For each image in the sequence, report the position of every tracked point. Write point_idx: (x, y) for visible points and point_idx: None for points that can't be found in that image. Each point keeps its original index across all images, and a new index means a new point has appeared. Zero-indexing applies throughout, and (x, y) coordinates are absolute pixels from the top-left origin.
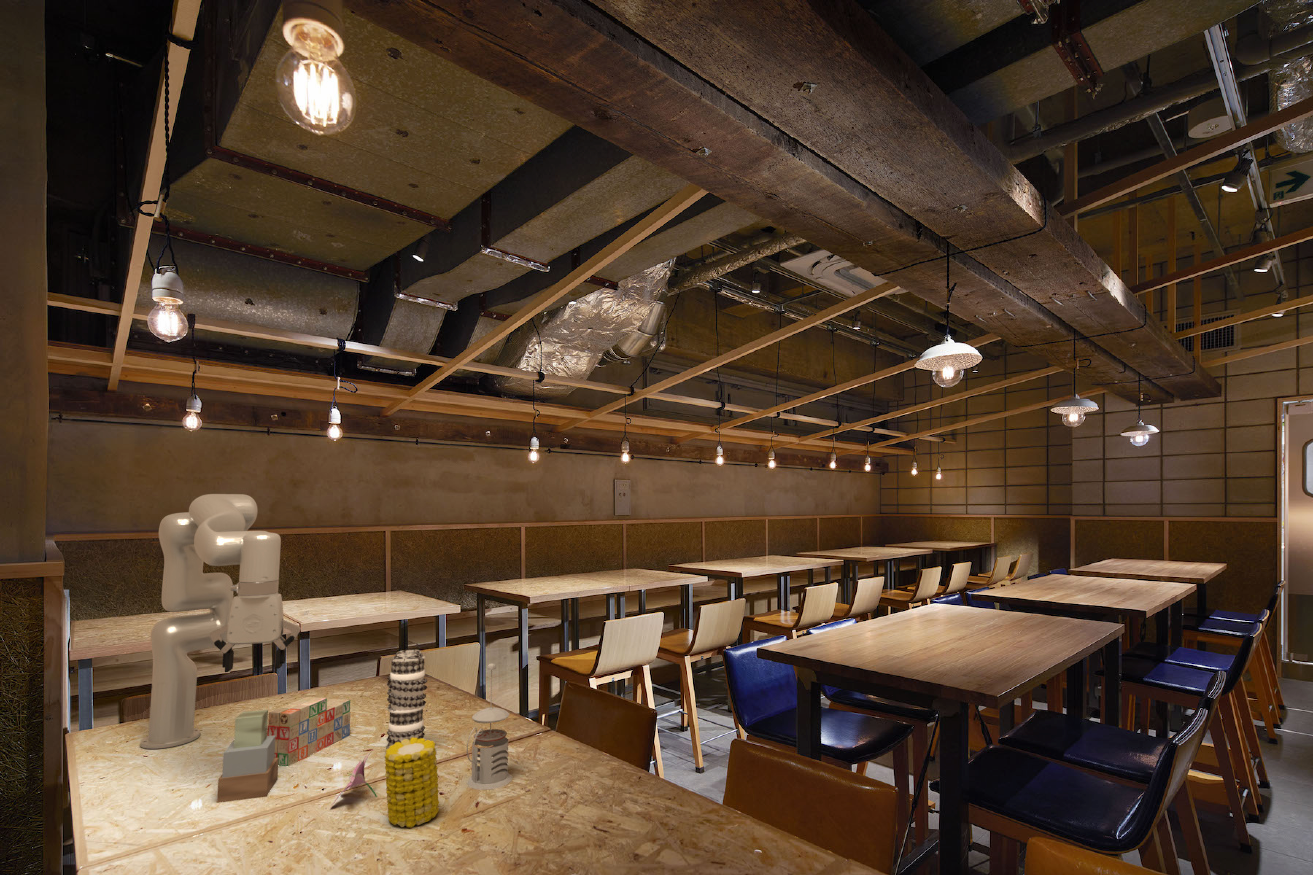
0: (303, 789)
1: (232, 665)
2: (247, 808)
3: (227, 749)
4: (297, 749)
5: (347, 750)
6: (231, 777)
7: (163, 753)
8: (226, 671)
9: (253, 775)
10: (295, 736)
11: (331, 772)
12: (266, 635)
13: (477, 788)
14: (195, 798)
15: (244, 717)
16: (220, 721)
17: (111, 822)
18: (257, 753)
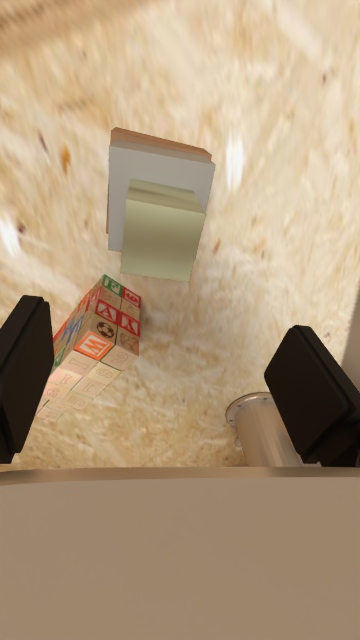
0: (44, 127)
1: (271, 380)
2: (144, 66)
3: (206, 190)
4: (89, 299)
5: (15, 303)
6: (186, 149)
7: (263, 380)
8: (300, 326)
9: (141, 137)
10: (88, 309)
11: (10, 204)
12: (16, 617)
13: None
14: (235, 194)
15: (180, 216)
16: (206, 440)
17: (355, 148)
18: (134, 148)
